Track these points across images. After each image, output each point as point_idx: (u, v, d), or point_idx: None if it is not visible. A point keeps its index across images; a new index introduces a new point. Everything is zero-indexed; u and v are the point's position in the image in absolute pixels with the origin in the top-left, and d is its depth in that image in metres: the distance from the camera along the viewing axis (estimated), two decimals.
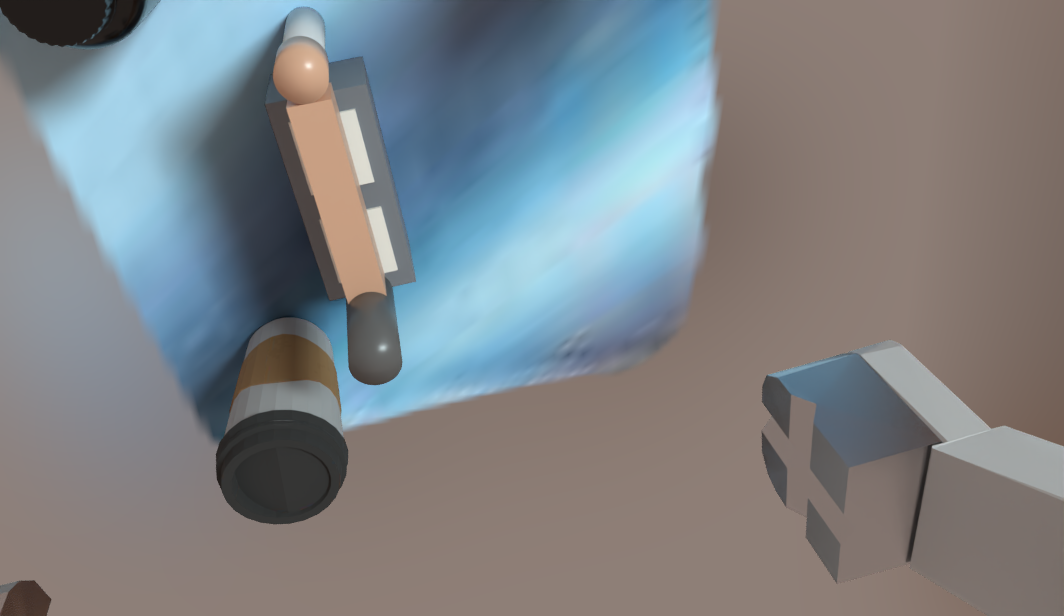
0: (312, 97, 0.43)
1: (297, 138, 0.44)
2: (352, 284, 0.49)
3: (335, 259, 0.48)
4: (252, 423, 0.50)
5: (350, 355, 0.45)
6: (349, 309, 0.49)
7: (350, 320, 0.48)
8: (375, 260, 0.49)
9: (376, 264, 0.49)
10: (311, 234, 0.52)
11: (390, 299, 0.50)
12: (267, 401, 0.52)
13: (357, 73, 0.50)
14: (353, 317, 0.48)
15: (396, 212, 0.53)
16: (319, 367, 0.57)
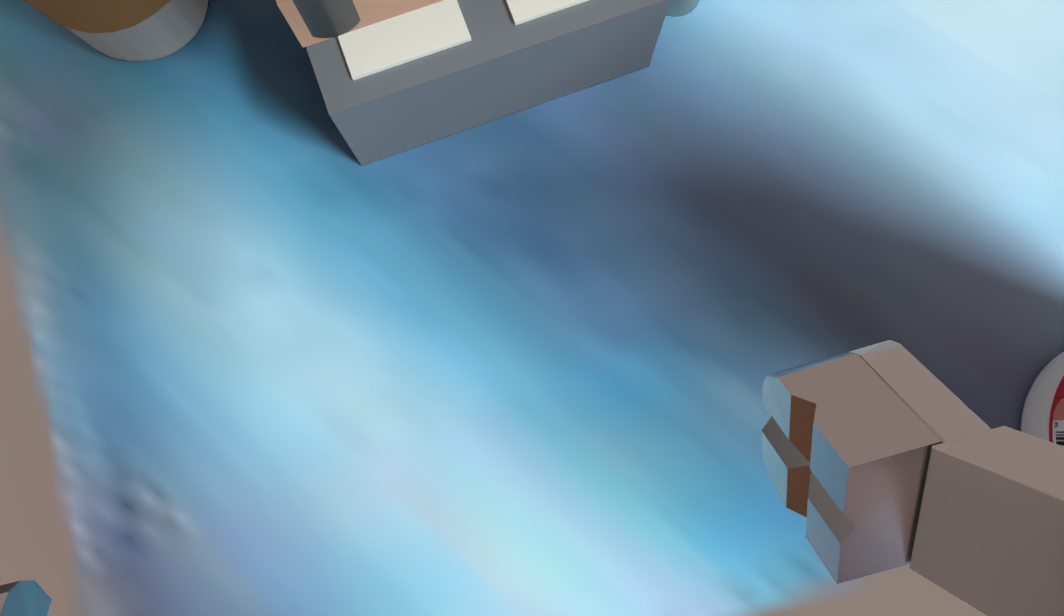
0: None
1: None
2: None
3: None
4: None
5: None
6: None
7: None
8: None
9: None
10: None
11: None
12: None
13: None
14: None
15: (462, 65, 0.31)
16: None
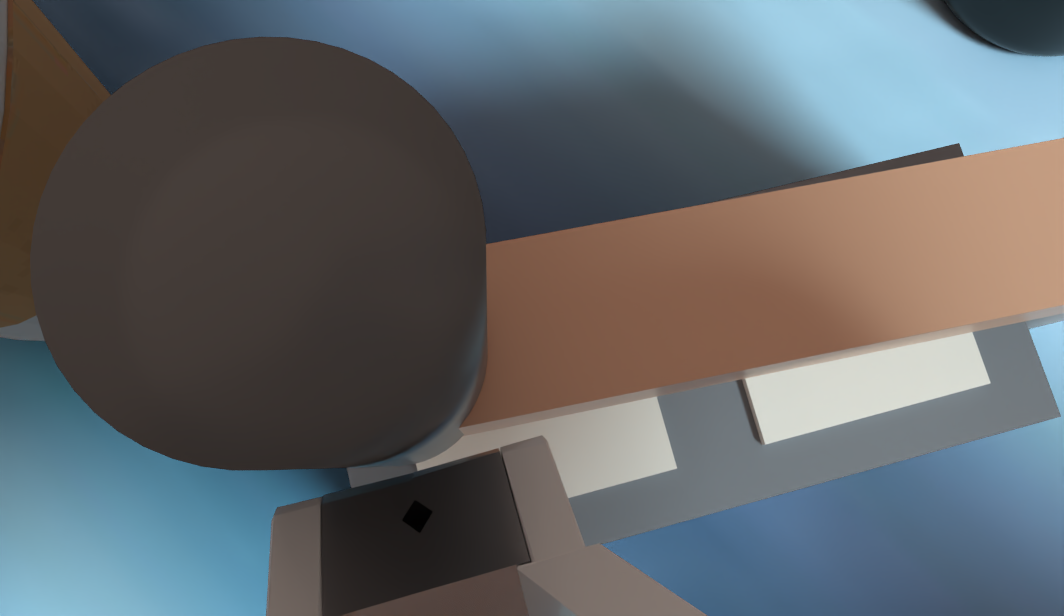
0: None
1: None
2: (530, 278, 0.11)
3: (657, 218, 0.11)
4: None
5: (364, 66, 0.06)
6: None
7: None
8: (648, 383, 0.11)
9: (628, 387, 0.11)
10: None
11: (438, 444, 0.11)
12: None
13: None
14: None
15: (653, 522, 0.15)
16: (27, 251, 0.15)
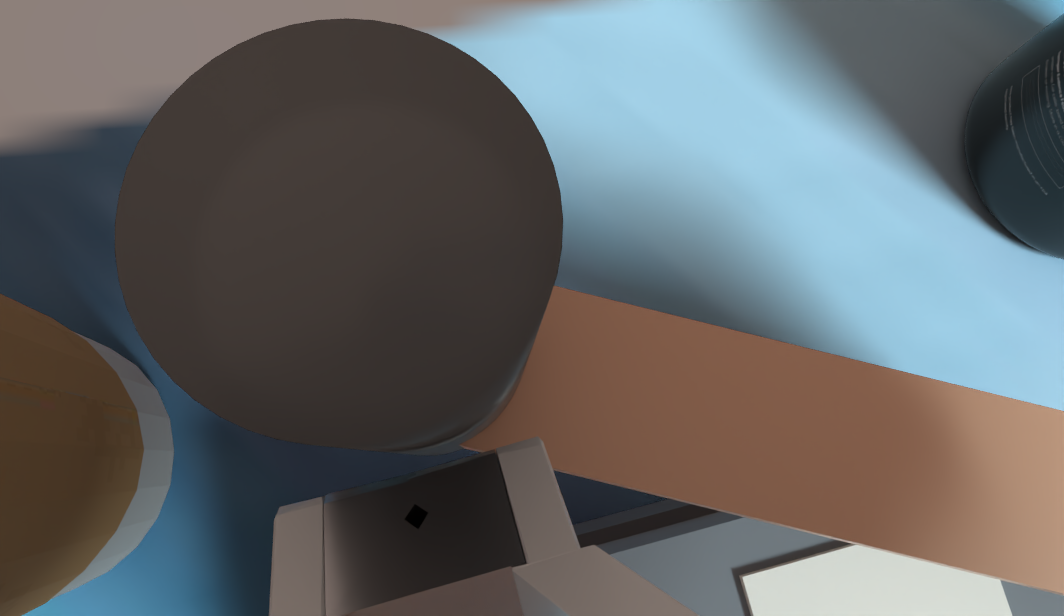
0: None
1: None
2: (587, 338, 0.11)
3: (732, 335, 0.11)
4: None
5: (509, 99, 0.06)
6: None
7: None
8: (652, 486, 0.11)
9: (632, 481, 0.11)
10: None
11: (433, 451, 0.11)
12: None
13: None
14: None
15: None
16: (11, 594, 0.14)
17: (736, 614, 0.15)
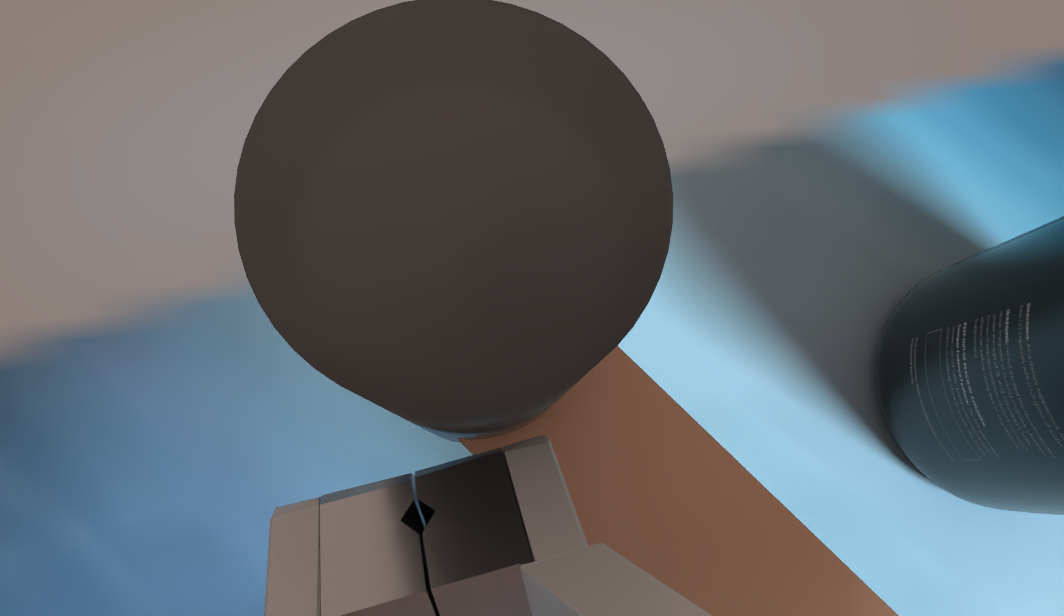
0: None
1: None
2: (623, 412, 0.11)
3: (755, 486, 0.11)
4: None
5: (662, 170, 0.06)
6: None
7: None
8: None
9: None
10: None
11: (432, 431, 0.11)
12: None
13: None
14: None
15: None
16: None
17: None
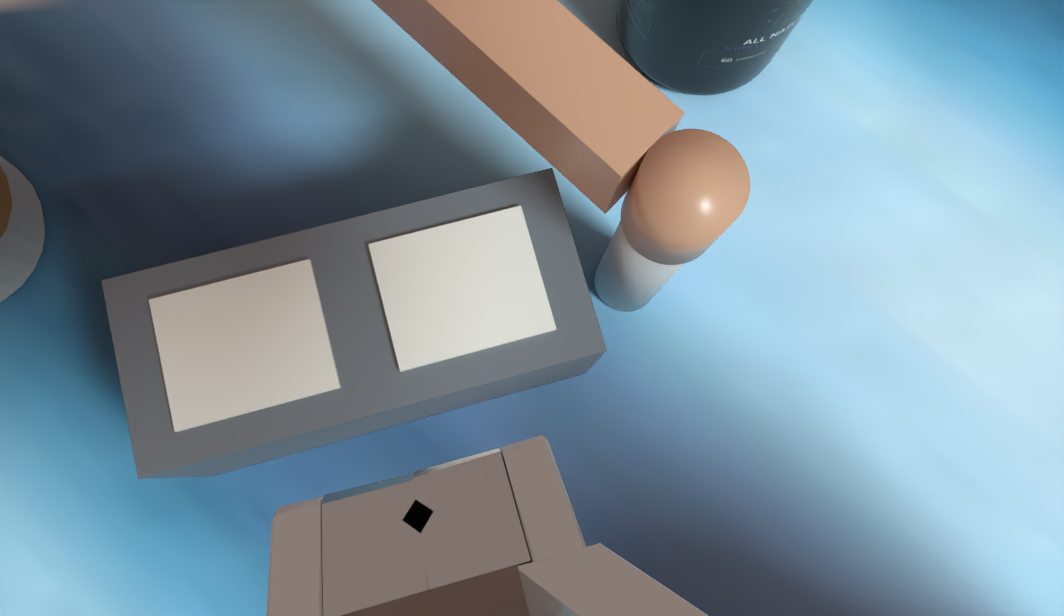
0: (654, 159, 0.20)
1: (632, 70, 0.21)
2: None
3: None
4: None
5: None
6: None
7: None
8: None
9: None
10: (274, 244, 0.24)
11: None
12: None
13: None
14: None
15: (324, 422, 0.24)
16: None
17: (366, 268, 0.24)
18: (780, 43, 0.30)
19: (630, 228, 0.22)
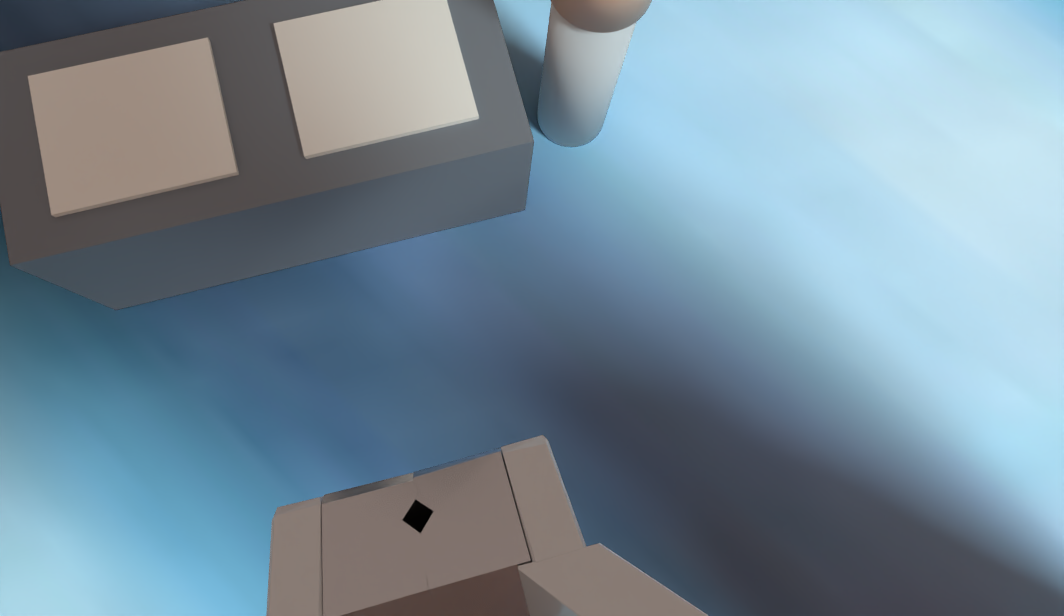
0: None
1: None
2: None
3: None
4: None
5: None
6: None
7: None
8: None
9: None
10: (171, 23, 0.22)
11: None
12: None
13: None
14: None
15: (219, 210, 0.21)
16: None
17: (271, 50, 0.22)
18: None
19: None
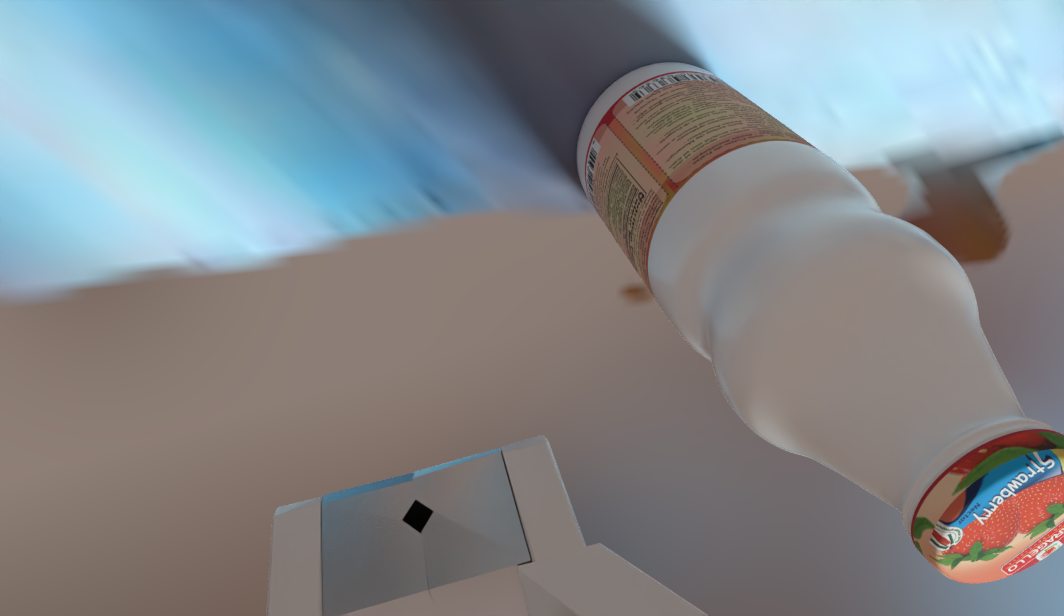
0: None
1: None
2: None
3: None
4: None
5: None
6: None
7: None
8: None
9: None
10: None
11: None
12: None
13: None
14: None
15: None
16: None
17: None
18: None
19: None
